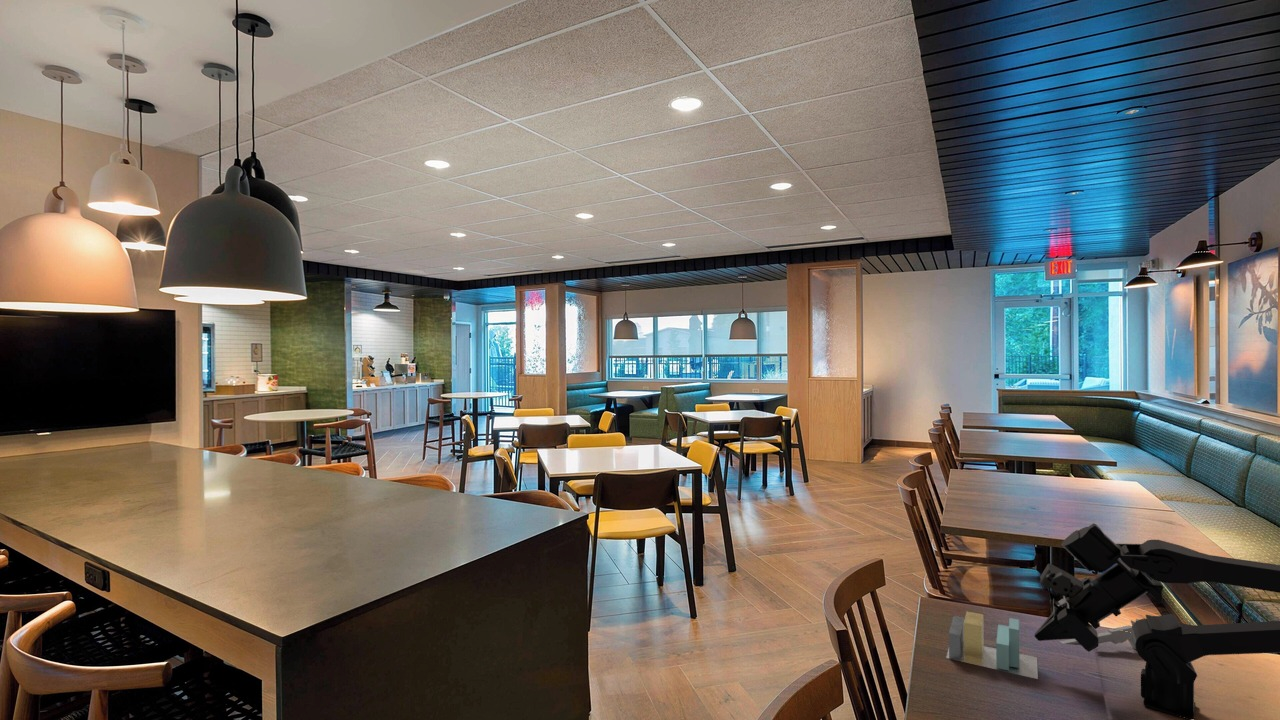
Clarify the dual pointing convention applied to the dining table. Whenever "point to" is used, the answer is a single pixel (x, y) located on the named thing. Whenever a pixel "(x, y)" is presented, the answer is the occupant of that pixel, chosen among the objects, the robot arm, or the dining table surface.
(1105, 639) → the grey long thin bar
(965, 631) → the brass block
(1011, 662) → the block
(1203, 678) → the dining table surface
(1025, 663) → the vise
